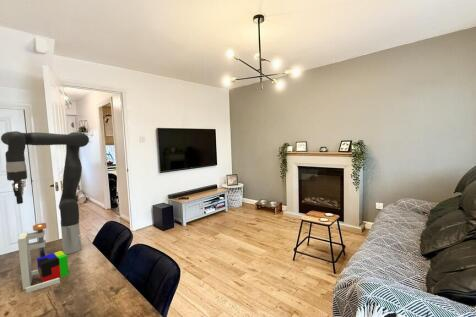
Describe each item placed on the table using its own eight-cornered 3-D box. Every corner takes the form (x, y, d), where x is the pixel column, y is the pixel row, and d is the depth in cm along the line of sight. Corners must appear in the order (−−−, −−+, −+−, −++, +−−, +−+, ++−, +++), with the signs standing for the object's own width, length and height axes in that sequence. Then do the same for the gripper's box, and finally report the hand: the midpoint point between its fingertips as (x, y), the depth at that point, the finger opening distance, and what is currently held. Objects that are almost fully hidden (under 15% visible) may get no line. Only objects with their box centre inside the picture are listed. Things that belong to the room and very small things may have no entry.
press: (60, 266, 125) (56, 224, 124) (59, 282, 111) (55, 234, 109) (26, 276, 117) (22, 230, 115) (21, 294, 102) (16, 242, 101)
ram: (49, 252, 117) (46, 222, 116) (48, 256, 113) (45, 224, 112) (36, 255, 114) (33, 224, 113) (35, 259, 110) (32, 227, 109)
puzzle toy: (38, 277, 116) (36, 258, 115) (62, 268, 124) (61, 250, 123) (43, 284, 110) (41, 264, 109) (68, 274, 118) (67, 255, 117)
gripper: (8, 170, 121) (12, 202, 122) (3, 172, 110) (7, 207, 111) (28, 168, 125) (31, 199, 126) (24, 170, 115) (28, 204, 116)
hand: (20, 203), depth 119 cm, fingers closed
